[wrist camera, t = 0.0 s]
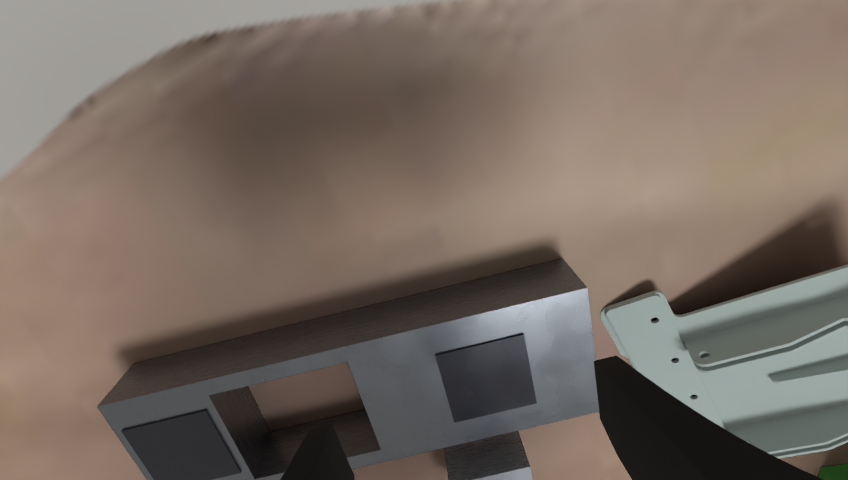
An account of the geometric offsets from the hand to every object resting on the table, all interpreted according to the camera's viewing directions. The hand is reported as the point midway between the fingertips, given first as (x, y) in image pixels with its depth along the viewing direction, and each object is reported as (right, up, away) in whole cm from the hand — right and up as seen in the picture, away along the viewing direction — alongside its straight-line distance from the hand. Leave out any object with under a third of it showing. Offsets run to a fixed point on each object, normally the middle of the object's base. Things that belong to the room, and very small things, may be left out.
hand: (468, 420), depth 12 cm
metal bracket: (+17, -1, +13) cm, 22 cm away
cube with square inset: (+2, -7, +14) cm, 16 cm away
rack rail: (-4, -2, +11) cm, 12 cm away
